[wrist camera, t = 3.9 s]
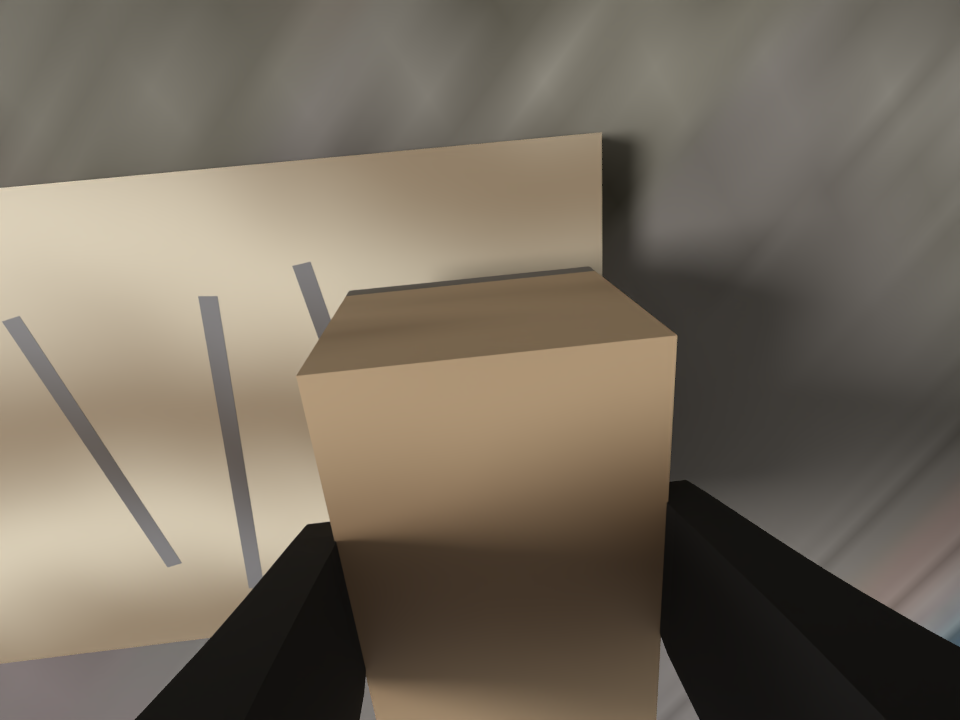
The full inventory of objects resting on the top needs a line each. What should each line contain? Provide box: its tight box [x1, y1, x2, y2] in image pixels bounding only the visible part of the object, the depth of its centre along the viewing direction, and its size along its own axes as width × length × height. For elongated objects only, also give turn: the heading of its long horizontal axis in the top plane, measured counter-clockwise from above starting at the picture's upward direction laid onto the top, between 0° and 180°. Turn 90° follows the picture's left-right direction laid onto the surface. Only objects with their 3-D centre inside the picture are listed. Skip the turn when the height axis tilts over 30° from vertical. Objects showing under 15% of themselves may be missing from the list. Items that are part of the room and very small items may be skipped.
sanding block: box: [296, 266, 677, 720], centre depth 9 cm, size 7×4×4 cm, turn 5°
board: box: [0, 132, 602, 664], centre depth 13 cm, size 12×18×1 cm, turn 95°
